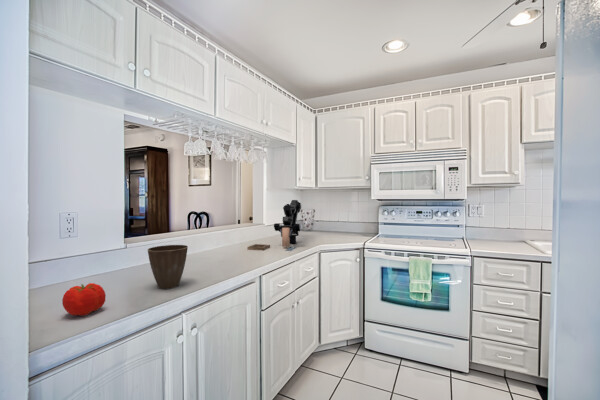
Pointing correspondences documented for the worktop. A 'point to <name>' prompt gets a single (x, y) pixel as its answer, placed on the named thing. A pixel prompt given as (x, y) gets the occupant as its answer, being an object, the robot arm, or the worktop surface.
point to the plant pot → (167, 264)
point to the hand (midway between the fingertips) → (285, 236)
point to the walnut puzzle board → (258, 247)
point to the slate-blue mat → (290, 248)
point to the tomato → (83, 299)
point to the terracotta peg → (285, 237)
